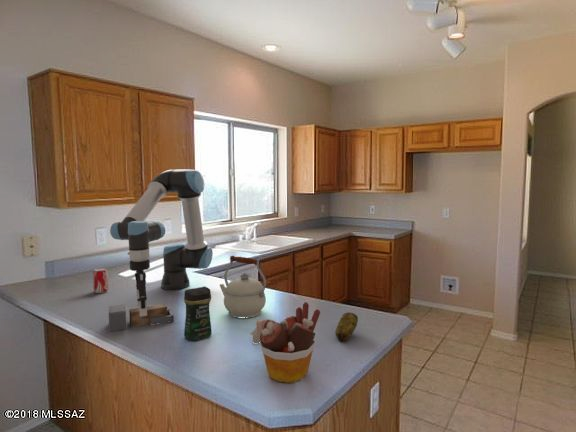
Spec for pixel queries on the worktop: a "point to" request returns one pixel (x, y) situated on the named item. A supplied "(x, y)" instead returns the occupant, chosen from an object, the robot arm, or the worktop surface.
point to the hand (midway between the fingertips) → (142, 310)
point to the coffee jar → (197, 313)
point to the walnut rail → (151, 312)
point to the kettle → (244, 292)
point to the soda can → (100, 280)
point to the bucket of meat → (288, 345)
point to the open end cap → (163, 318)
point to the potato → (346, 326)
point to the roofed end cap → (117, 317)
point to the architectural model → (256, 335)
